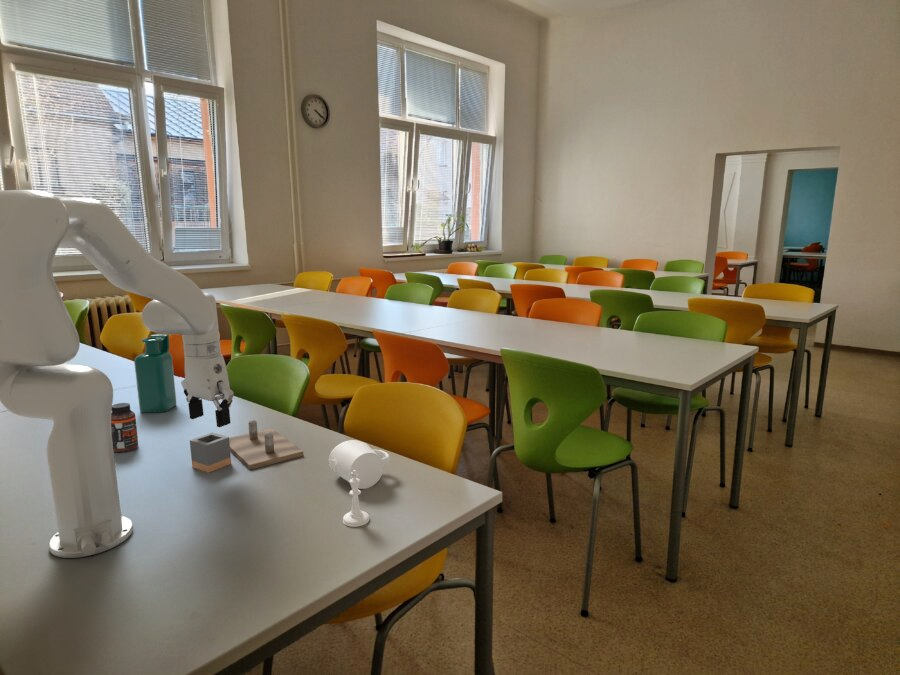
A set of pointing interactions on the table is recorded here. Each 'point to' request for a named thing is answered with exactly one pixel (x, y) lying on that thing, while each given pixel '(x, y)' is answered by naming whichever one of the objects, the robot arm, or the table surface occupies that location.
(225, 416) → the robot arm
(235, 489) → the table surface
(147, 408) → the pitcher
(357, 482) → the chess piece
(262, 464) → the pin board
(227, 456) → the sleeve
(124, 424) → the supplement bottle
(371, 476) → the mug
